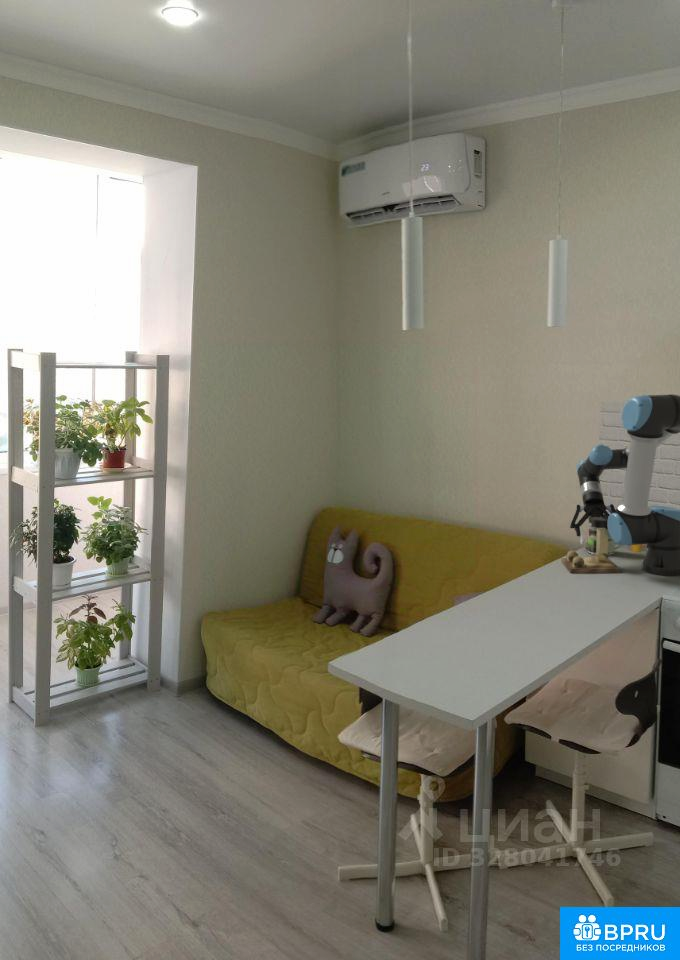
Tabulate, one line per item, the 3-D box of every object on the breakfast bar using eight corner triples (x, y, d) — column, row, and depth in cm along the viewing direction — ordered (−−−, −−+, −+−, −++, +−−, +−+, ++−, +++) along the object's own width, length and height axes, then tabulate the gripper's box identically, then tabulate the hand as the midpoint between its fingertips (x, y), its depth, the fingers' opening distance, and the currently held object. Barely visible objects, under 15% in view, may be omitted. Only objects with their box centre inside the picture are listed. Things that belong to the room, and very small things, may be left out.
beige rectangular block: (605, 559, 303) (606, 527, 301) (608, 562, 298) (609, 530, 297) (594, 559, 303) (595, 527, 302) (597, 562, 299) (598, 530, 297)
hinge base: (608, 561, 309) (608, 548, 308) (619, 572, 293) (620, 558, 292) (561, 562, 310) (561, 549, 309) (570, 573, 294) (570, 559, 293)
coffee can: (594, 556, 318) (594, 520, 316) (583, 550, 328) (584, 515, 326) (619, 554, 319) (620, 519, 317) (608, 549, 329) (608, 514, 327)
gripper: (623, 500, 315) (633, 547, 302) (557, 502, 316) (565, 548, 304) (627, 489, 309) (638, 536, 296) (560, 490, 310) (568, 537, 298)
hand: (601, 542), depth 300 cm, fingers open, 13 cm apart
